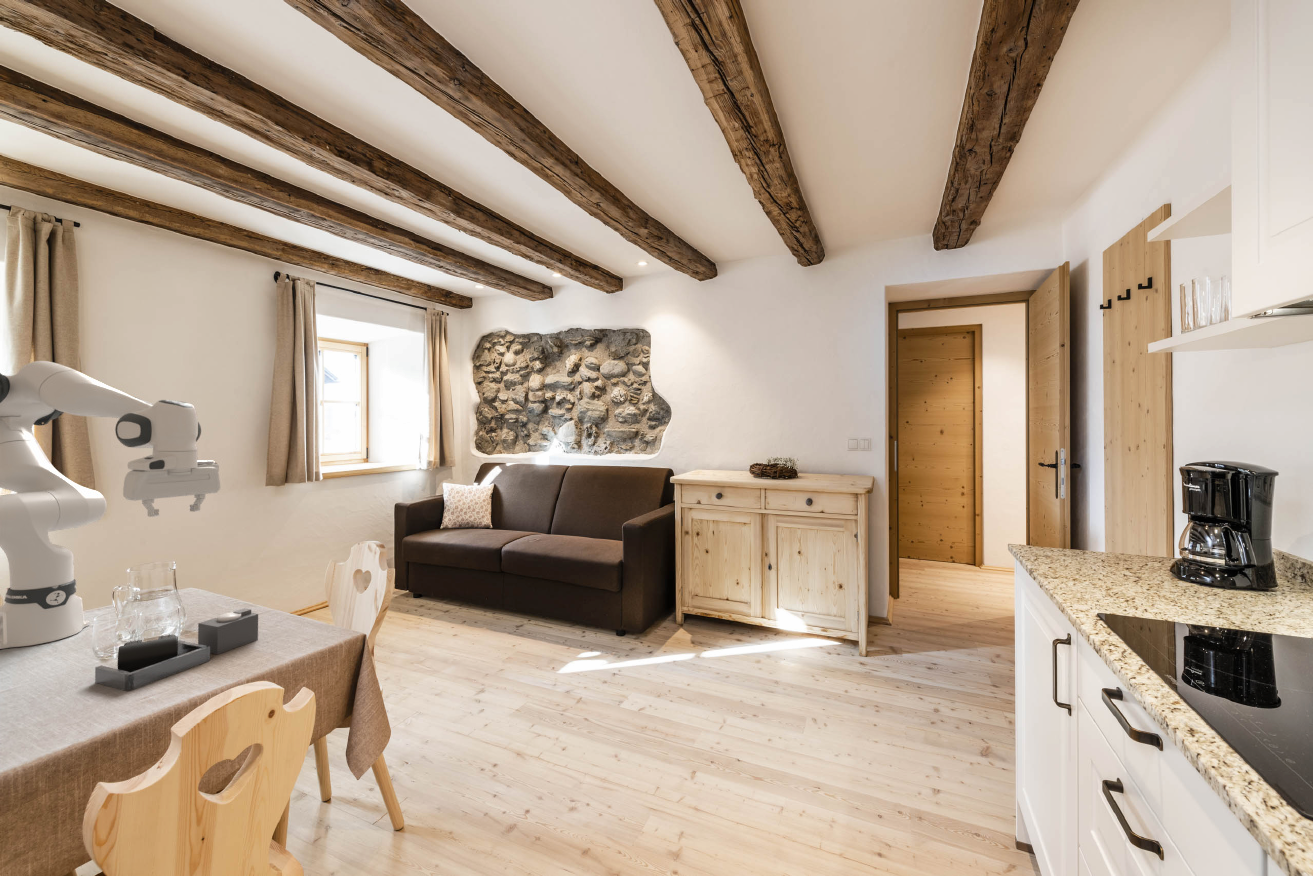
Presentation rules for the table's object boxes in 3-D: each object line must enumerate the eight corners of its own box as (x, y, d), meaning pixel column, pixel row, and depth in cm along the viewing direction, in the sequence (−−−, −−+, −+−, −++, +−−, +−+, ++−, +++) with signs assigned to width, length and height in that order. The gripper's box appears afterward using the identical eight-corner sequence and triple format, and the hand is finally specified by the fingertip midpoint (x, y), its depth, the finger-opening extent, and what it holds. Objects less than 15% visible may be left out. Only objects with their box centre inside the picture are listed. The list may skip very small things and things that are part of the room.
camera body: (197, 650, 134) (198, 619, 134) (239, 636, 143) (239, 607, 143) (217, 654, 132) (217, 623, 132) (257, 639, 141) (258, 610, 141)
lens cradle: (95, 682, 116) (95, 667, 116) (178, 654, 132) (179, 640, 132) (127, 691, 113) (128, 675, 113) (209, 660, 128) (210, 646, 128)
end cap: (117, 680, 118) (117, 650, 118) (120, 669, 123) (120, 640, 123) (177, 668, 124) (177, 639, 124) (178, 657, 130) (178, 630, 130)
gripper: (210, 459, 149) (209, 507, 150) (119, 463, 130) (118, 518, 130) (226, 460, 148) (225, 509, 148) (136, 464, 128) (135, 520, 128)
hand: (174, 513), depth 139 cm, fingers open, 8 cm apart
